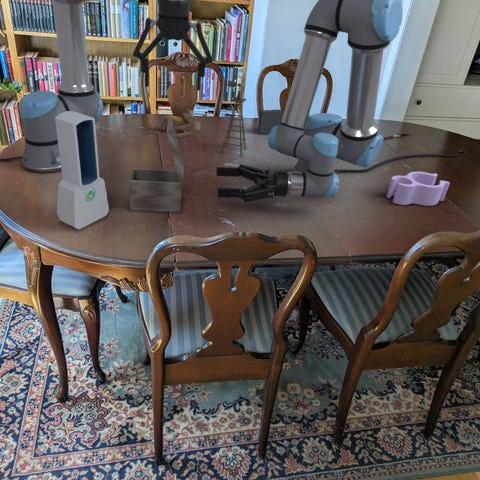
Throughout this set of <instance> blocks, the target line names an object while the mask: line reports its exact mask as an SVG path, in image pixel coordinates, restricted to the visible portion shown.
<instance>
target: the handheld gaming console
mask: <svg viewBox="0 0 480 480" xmlns="http://www.w3.org/2000/svg"><path fill="white" fill-rule="evenodd" d="M284 111H285V109H263V110H261V111H260V112H259V116H258V123H257V131H258V132H259V133H260V134H262V135H269V133H270V132H271V129H272V128H273V127H275V126H280V124H281V121H282V118H283V114H284ZM309 116H310V115H309ZM309 116H308V117H309ZM305 126H306V125H305ZM304 132H305V128H304ZM304 132H303V133H304Z"/></svg>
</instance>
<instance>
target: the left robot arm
mask: <svg viewBox="0 0 480 480" xmlns="http://www.w3.org/2000/svg"><path fill="white" fill-rule="evenodd" d="M51 2H52V8H53V15H54V26H55V34H56V42H57V51H58V59H59V68H60V77H61V82H60V83H59V84H58V86H57V92H58V94H56V92H54V91H51V90H42V91H41V90H37V91H32V92H30V93H26V94H24V96H22V97H21V99H20V100H19V103H18V104H19V116H20V120H21V126H22V132H23V136H24V148H23V153H22V155H21V156H13V157H8V158H5V157H3V158H2V157H1V158H0V161H1V162H9V161H14V160H21V159H22V160H21V161H22V166H23V168H24V169H25V170H27V171H29V172H33V173H39V174H46V173H56V172H61V171H62V170H61V162H60V154H59V146H58V138H57V130H56V122H55V117H57V116H58V115H59V114H61V113H63V112H66V111H74V112H78V113H81V114H84V115H86V116H89V117H92V118H95V124H98V123H99V122H100V121H101V119H102V117H103V113H104V103H103V99H101V98H102V96H101V95H100V93H99V91H97V90H96V89H95V86H94V85H93V84H92V83H91V82H90V77H89V65H88V64H89V63H88V53H87V40H86V30H85V18H84V6H83V4H84V2H85V0H51ZM157 2H158V6H157V7H158V8H157V9H158V11H157V12H158V16H157V19H153V18H152V17H150V16H148V17H146V19H145V21H144V29H143V31H142V33H141V35H140V38H139V40H138V42H137V44H136V46H135V47H134V50H133V52H132V56H133V57H134V58H137V59H139V61H140V65H139V66H140V72H141V73H143V74H144V87H146V88H147V87H148V88H149V86H150V61H149V60H150V59H149V58H148V56H149V55H150V53H151V52H152V51H153V50H154V49H155V48H156V47H157V45H158V44H159V43H160V42H161V41H162V40H163V39H166V40H167V41H172V40H174V41H177V42H180V41H182V40H183V42H184V43H185V44H186V45H187V47H188V48H189V50H190V51H191V53H193V55H194V57H195V58H196V59H197V60H198V62H197V79H196V80H197V82H196V83H197V84H196V91H201V78H205V76H206V65H208V64H211V63H213V61H214V59H213V56H212V54H211V51H210V49H209V46H208V44H207V40H206V38H205V35H204V34H203V29H202V23H201V21H197V22H191V21H190V1H189V0H158V1H157ZM155 26H156V27H157V28H158V30H159V33H158V34H157V35H156V36H155V37H154V38H153V40H152V41H151V42H150V43H149V45H148V46H147V47H146V48H145V49H144V50H143V52H141V50H142V48H143V45H144V43H145V41H146V39H147V37H148V35H149V33H150V30H151V29H154V27H155ZM191 29H192V30H193V32H194V33H196V35H197V38H198V40H199V43H200V45H201V48H202V50H203V52H204V56H205V57H204V56H203V54H202V52H201V51H200V50H199V49H198V47H197V46H196V45H195V42H193V41H192V38H191V37H190V35H189V34H188V32H189V31H190V30H191Z"/></svg>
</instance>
